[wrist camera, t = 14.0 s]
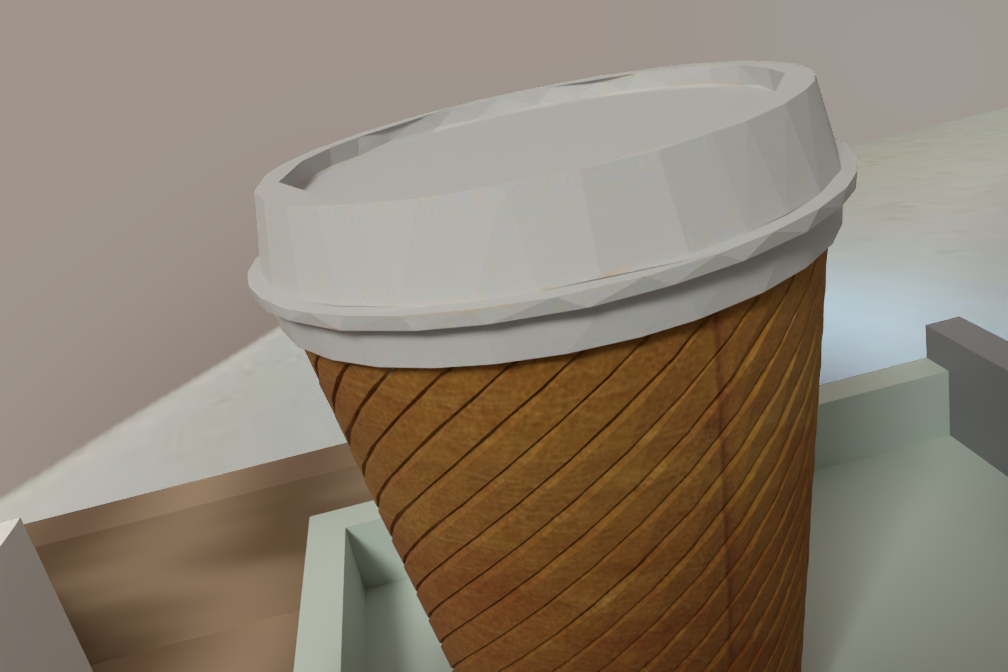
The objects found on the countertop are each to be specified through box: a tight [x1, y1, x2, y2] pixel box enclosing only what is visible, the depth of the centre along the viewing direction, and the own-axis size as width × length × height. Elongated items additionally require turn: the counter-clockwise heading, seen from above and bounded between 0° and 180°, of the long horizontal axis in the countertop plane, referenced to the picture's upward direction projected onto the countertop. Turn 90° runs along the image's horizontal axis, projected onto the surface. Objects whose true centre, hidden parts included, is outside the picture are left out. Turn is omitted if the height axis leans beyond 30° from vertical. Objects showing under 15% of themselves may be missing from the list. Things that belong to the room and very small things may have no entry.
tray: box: [293, 317, 1008, 672], centre depth 18 cm, size 19×14×4 cm
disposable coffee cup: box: [247, 60, 858, 672], centre depth 16 cm, size 10×10×12 cm
